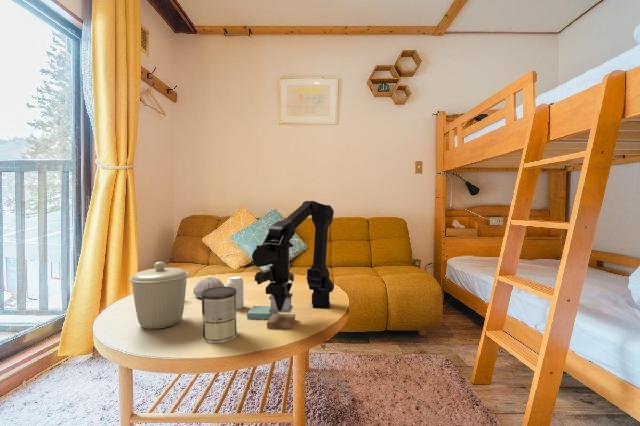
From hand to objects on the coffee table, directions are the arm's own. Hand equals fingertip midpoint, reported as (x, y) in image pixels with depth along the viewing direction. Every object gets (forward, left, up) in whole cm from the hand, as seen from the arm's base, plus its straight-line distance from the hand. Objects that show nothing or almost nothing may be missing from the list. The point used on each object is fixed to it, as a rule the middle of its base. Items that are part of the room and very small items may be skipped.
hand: (281, 308), depth 110 cm
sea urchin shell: (+38, -31, -6) cm, 49 cm away
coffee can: (+17, +11, -6) cm, 21 cm away
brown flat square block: (0, 0, -6) cm, 6 cm away
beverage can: (+21, -15, -6) cm, 26 cm away
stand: (+9, -8, -6) cm, 13 cm away
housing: (0, 0, -1) cm, 1 cm away
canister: (+41, +2, -6) cm, 41 cm away
